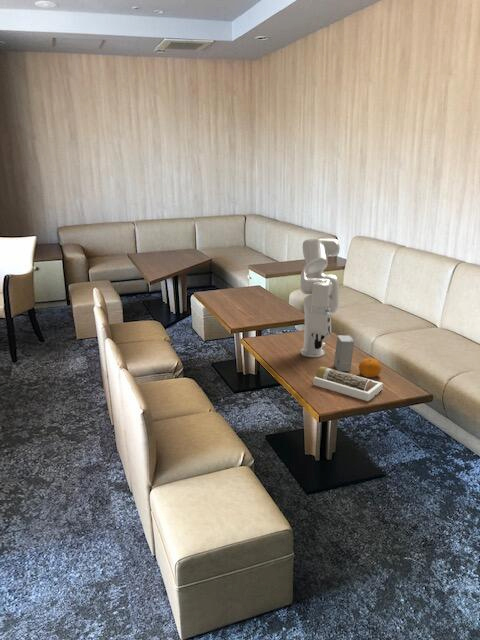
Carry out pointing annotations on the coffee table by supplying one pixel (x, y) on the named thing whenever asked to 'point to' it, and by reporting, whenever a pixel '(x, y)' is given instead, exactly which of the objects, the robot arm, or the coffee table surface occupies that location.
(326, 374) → the paper tube
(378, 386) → the u-rest
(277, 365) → the coffee table surface
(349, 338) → the skincare box
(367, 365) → the fruit
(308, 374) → the coffee table surface
